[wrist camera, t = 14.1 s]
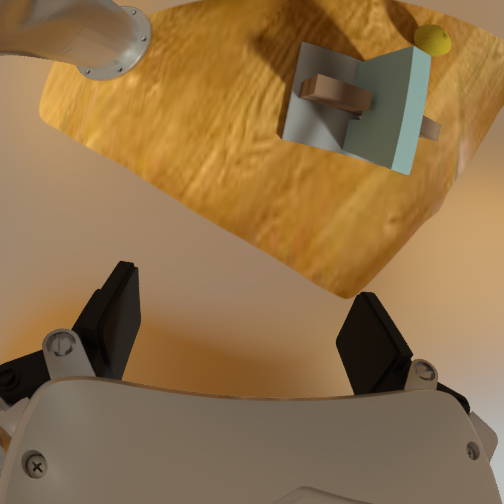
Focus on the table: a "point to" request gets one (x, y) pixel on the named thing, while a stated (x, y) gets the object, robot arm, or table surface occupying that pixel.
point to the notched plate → (391, 109)
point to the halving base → (314, 114)
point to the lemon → (432, 40)
